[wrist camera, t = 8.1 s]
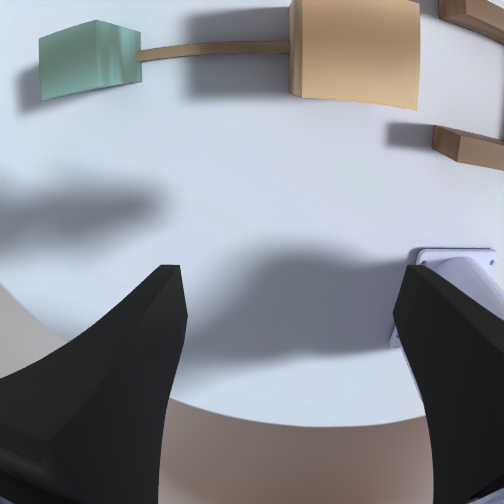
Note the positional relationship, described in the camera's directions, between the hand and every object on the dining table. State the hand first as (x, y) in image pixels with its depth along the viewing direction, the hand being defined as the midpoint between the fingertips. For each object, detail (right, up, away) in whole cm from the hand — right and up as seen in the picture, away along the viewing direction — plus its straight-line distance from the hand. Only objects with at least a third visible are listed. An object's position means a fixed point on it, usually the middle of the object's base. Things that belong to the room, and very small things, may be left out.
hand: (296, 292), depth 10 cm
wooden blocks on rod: (-2, +12, +4) cm, 13 cm away
